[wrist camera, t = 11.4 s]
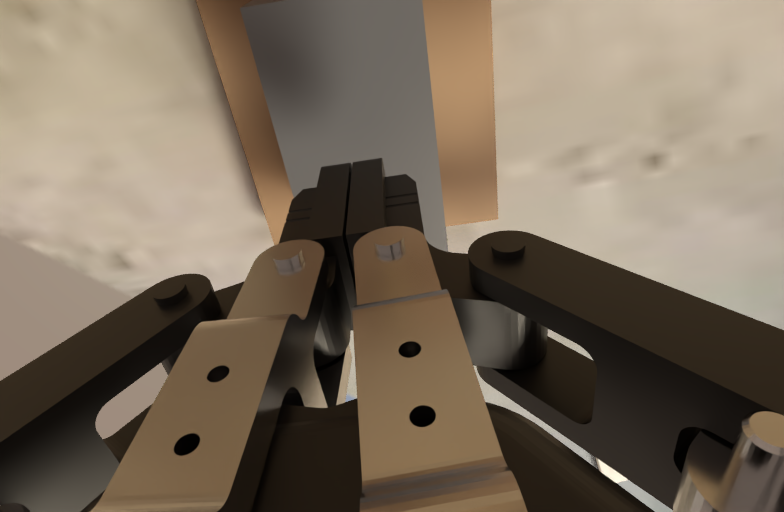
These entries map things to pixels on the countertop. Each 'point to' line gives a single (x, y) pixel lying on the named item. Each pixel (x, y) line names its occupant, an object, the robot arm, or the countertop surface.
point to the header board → (449, 93)
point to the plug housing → (350, 91)
